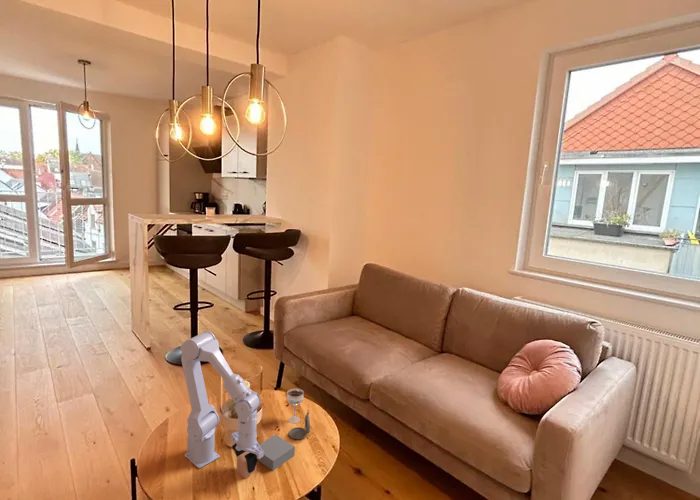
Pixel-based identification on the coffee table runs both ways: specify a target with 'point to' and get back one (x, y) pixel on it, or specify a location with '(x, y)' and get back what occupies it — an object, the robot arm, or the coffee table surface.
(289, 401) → the wineglass
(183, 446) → the coffee table surface
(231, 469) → the coffee table surface
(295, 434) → the pocket watch
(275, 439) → the slate slab
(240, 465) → the terracotta block
